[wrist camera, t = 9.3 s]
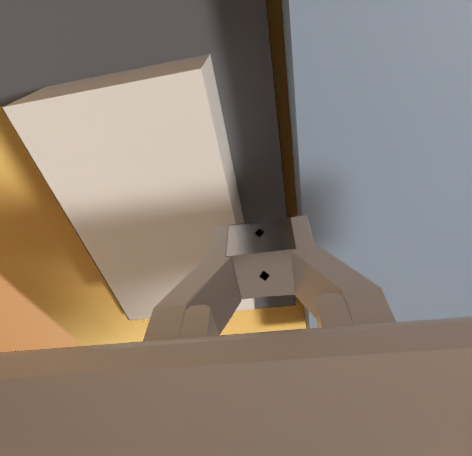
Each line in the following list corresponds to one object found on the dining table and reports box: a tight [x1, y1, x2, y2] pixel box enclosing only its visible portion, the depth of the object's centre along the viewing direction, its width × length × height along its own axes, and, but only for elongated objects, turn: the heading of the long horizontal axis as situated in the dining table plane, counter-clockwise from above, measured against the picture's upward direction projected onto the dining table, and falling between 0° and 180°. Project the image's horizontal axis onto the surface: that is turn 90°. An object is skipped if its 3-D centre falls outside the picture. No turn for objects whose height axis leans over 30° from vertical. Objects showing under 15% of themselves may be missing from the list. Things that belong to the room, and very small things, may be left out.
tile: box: [2, 54, 255, 320], centre depth 13 cm, size 10×6×2 cm, turn 10°
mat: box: [0, 0, 296, 320], centre depth 14 cm, size 16×10×1 cm, turn 10°
